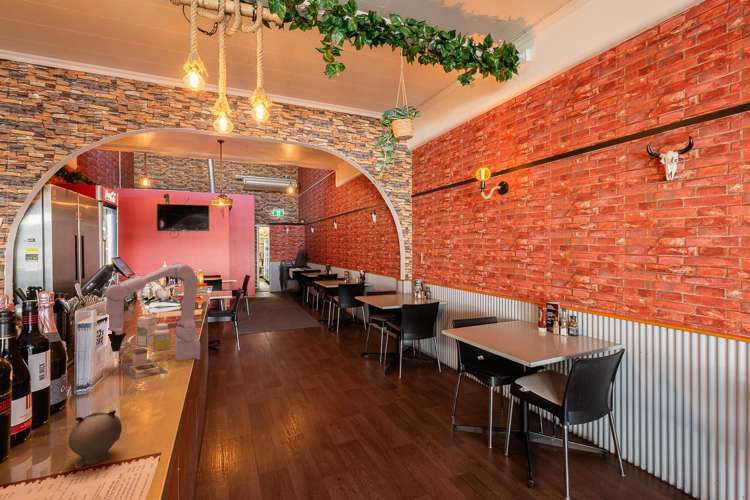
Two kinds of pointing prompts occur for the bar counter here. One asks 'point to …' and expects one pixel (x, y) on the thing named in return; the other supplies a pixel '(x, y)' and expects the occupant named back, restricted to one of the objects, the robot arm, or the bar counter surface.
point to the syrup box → (146, 330)
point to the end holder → (144, 370)
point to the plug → (139, 356)
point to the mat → (126, 366)
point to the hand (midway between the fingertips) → (113, 349)
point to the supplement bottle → (161, 338)
